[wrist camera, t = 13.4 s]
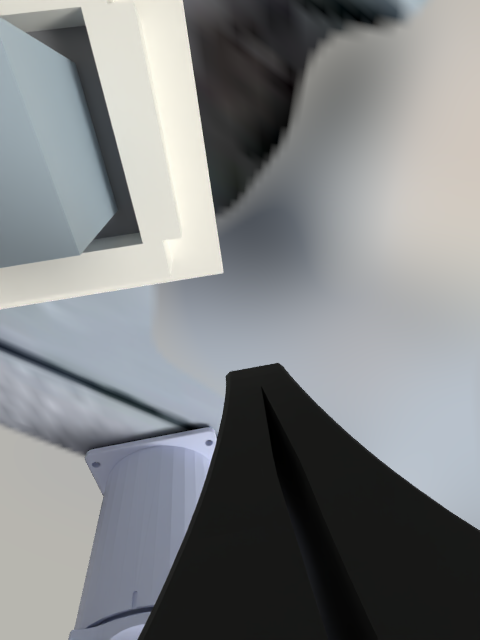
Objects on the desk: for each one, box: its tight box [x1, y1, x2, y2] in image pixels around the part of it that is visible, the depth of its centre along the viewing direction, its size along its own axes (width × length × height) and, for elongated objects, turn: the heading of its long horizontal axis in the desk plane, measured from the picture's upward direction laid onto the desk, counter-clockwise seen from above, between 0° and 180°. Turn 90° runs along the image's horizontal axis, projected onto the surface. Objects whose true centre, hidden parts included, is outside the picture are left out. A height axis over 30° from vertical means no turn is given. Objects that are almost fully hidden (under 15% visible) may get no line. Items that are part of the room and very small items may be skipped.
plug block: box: [0, 17, 118, 268], centre depth 10 cm, size 5×4×6 cm
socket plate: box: [0, 0, 223, 309], centre depth 13 cm, size 12×12×2 cm
